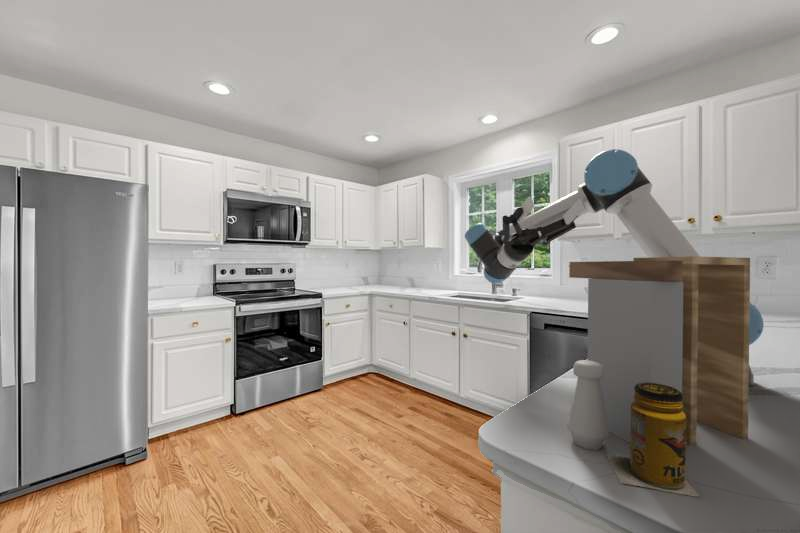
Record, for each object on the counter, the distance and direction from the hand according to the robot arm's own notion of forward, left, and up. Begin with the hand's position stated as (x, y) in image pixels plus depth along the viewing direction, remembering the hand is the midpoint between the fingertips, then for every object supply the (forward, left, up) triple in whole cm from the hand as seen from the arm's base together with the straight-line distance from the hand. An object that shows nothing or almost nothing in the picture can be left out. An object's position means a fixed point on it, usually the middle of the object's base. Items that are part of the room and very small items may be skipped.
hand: (557, 202), depth 85 cm
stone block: (+3, +24, -44) cm, 50 cm away
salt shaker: (+13, +26, -44) cm, 53 cm away
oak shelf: (-9, +24, -44) cm, 51 cm away
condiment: (+11, +35, -44) cm, 57 cm away
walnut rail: (+3, +21, -18) cm, 28 cm away
